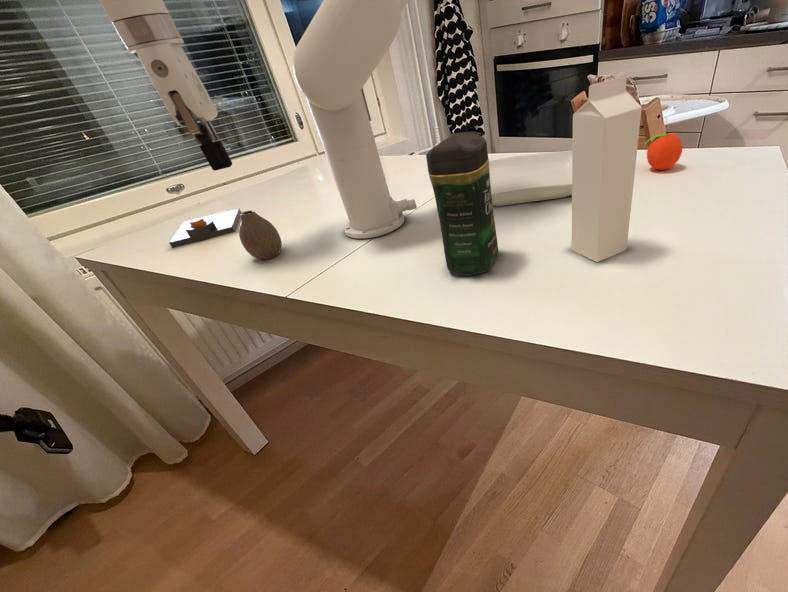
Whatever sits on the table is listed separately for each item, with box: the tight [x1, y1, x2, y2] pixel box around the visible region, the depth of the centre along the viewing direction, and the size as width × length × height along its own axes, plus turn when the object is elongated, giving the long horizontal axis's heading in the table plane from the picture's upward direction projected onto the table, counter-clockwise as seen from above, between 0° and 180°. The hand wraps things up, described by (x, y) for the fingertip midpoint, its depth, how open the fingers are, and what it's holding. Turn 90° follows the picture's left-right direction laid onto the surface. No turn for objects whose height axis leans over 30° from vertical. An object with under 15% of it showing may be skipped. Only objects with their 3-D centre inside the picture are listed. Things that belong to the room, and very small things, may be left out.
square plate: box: [489, 149, 573, 207], centre depth 88 cm, size 27×27×4 cm
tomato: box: [643, 132, 683, 171], centre depth 84 cm, size 8×7×7 cm
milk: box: [570, 75, 643, 263], centre depth 55 cm, size 6×6×22 cm
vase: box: [238, 210, 283, 261], centre depth 77 cm, size 7×7×9 cm
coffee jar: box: [425, 131, 499, 276], centre depth 58 cm, size 10×8×19 cm
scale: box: [168, 207, 243, 249], centre depth 98 cm, size 14×16×3 cm
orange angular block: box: [188, 217, 206, 228], centre depth 92 cm, size 3×3×2 cm
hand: (223, 167), depth 70 cm, fingers closed
